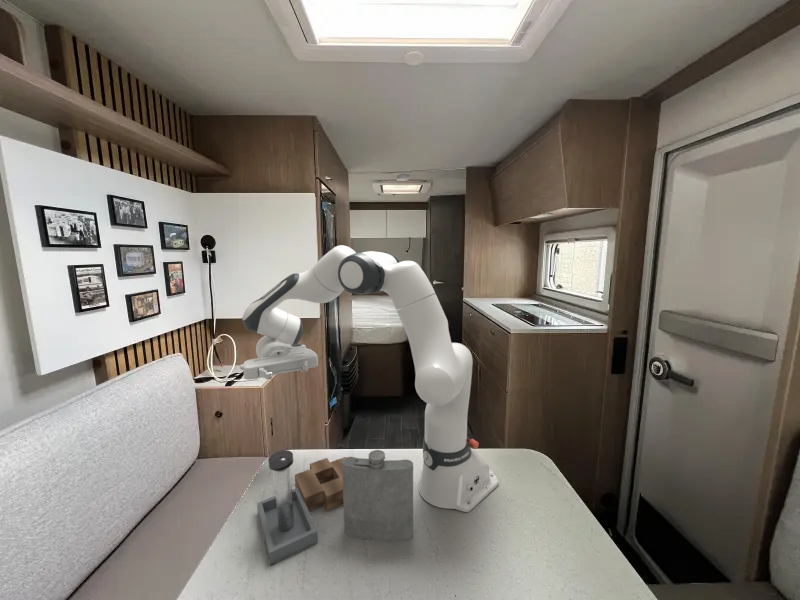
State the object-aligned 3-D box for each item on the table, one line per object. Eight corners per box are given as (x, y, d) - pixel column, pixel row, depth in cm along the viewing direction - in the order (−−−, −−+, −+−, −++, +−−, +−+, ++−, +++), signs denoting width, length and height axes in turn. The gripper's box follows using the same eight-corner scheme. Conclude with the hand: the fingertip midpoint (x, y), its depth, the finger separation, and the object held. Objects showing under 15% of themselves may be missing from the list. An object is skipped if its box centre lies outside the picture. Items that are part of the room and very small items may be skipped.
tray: (298, 497, 86) (298, 487, 85) (317, 543, 72) (317, 531, 72) (257, 513, 80) (257, 502, 80) (270, 565, 67) (269, 553, 66)
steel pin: (294, 512, 80) (289, 447, 77) (300, 527, 75) (295, 459, 73) (272, 522, 77) (266, 455, 74) (277, 538, 73) (270, 467, 70)
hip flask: (413, 528, 76) (413, 449, 73) (412, 544, 72) (412, 461, 69) (346, 524, 77) (343, 446, 74) (341, 539, 73) (338, 457, 70)
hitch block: (342, 464, 99) (342, 452, 98) (364, 495, 86) (363, 481, 86) (293, 482, 91) (292, 469, 90) (308, 519, 78) (307, 504, 78)
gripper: (238, 354, 93) (244, 368, 81) (309, 343, 104) (323, 355, 92) (239, 375, 94) (246, 392, 82) (310, 362, 104) (324, 376, 93)
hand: (287, 372), depth 87 cm, fingers open, 8 cm apart
